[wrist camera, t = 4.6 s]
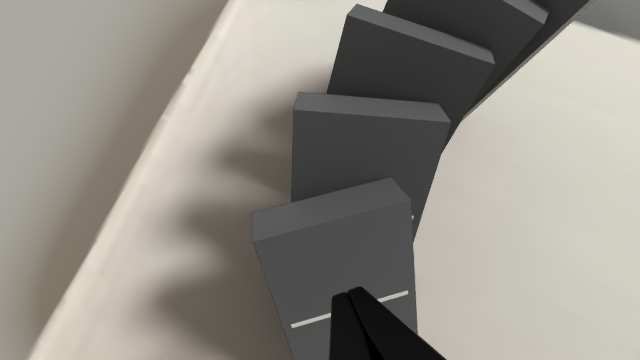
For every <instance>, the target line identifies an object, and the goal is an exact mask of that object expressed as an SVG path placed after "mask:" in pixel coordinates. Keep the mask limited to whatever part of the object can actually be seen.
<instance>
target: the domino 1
mask: <svg viewBox="0 0 640 360" xmlns="http://www.w3.org/2000/svg"><path fill="white" fill-rule="evenodd" d="M494 66H495V62H494V58H493V55H492V52H491V48H489V47H486V46H483V45H479V44H476V43H473V42H470V41H467V40H464V39H461V38H458V37H455V36H452V35H449V34H446V33H443V32H440V31H437V30H434V29H431V28H428V27H425V26H422V25H419V24H416V23H413V22H410V21H407V20H404V19H401V18H398V17H395V16H392V15H389V14H386V13H383V12H380V11H377V10H374V9H371V8H368V7H365V6H362V5H359V4H356V5H355V6H354V7H353V9H352V10H351V11H350V12H349V13H348V14H347V16H346V20H345V24H344V28H343V32H342V36H341V40H340V43H339V47H338V51H337V55H336V59H335V63H334V67H333V70H332V74H331V78H330V82H329V86H328V90H327V94H329V95H341V96H354V97H366V98H378V99H391V100H403V101H416V102H428V103H438V104H439V105H440V106H441V108H442V109H443V111H444V112H445V114H446V115H447V117H448V118H449V120H450V121H451V124H450V128H449V131H448V134H447V137H446V140H445V143H444V147H443V150H444V149H445V147H446V145H447V144H448V142H449V140H450V139H451V137H452V135H453V134H454V132H455V130H456V129H457V127H458V125H459V124H460V122H461V120H462V119H463V117H464V115H465V114H466V112H467V111H468V109H469V107H470V106H471V104H472V102H473V101H474V99H475V97H476V96H477V94H478V92H479V91H480V89H481V87H482V86H483V84H484V82H485V81H486V79H487V77H488V76H489V74H490V72H491V71H492V69H493V67H494ZM443 150H442V152H443ZM441 154H442V153H441Z"/></svg>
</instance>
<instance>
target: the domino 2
mask: <svg viewBox="0 0 640 360" xmlns="http://www.w3.org/2000/svg"><path fill="white" fill-rule="evenodd" d="M450 124H451V121H450V120H449V118H448V117H447V115H446V114H445V112H444V111H443V109H442V108H441V106H440V105H439V104H438V103H428V102H416V101H403V100H391V99H378V98H366V97H354V96H341V95H329V94H316V93H304V92H298V95H297V98H296V102H295V106H294V110H293V150H292V190H291V203H293V202H297V201H301V200H304V199H308V198H312V197H316V196H320V195H324V194H328V193H331V192H335V191H339V190H343V189H347V188H351V187H355V186H359V185H362V184H366V183H370V182H374V181H378V180H382V179H386V178H390V177H391V178H392V179H393V180H394V181H395V182H396V183H397V184H398V186H399V187H400V188H401V189H402V190H403V191H404V192H405V194H406V195H407V196H408V197H409V198H410V199H411V214H412V234H413V242H414V239H415V235H416V232H417V229H418V226H419V223H420V219H421V216H422V213H423V210H424V207H425V204H426V200H427V197H428V194H429V191H430V188H431V185H432V181H433V178H434V175H435V172H436V169H437V166H438V162H439V159H440V156H441V153H442V150H443V147H444V143H445V140H446V137H447V134H448V131H449V128H450Z"/></svg>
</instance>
